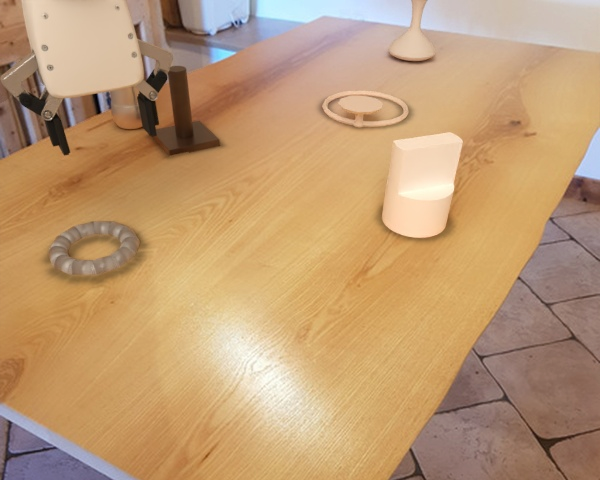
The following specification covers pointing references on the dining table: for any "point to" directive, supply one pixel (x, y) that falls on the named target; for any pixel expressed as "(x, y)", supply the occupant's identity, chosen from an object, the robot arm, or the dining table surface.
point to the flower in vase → (413, 38)
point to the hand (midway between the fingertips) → (108, 141)
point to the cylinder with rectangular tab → (421, 184)
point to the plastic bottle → (126, 108)
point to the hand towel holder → (363, 107)
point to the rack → (183, 120)
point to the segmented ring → (97, 266)
